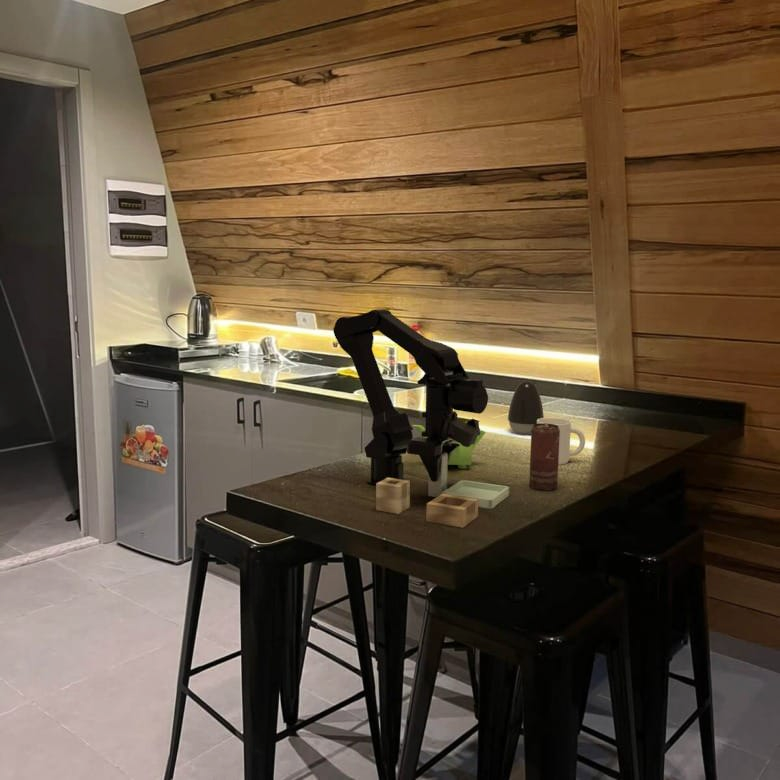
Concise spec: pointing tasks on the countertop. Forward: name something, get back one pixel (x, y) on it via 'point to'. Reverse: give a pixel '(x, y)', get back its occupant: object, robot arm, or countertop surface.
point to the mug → (565, 438)
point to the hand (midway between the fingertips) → (437, 479)
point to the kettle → (459, 451)
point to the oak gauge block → (452, 510)
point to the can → (544, 456)
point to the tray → (480, 492)
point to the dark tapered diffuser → (525, 408)
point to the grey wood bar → (439, 479)
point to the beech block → (392, 495)
